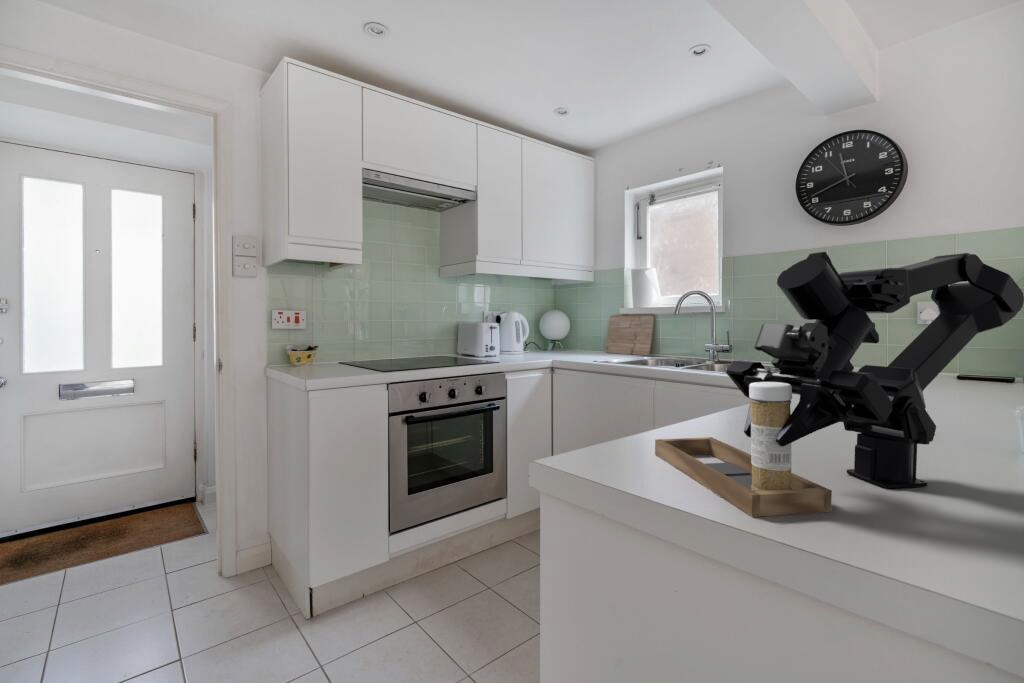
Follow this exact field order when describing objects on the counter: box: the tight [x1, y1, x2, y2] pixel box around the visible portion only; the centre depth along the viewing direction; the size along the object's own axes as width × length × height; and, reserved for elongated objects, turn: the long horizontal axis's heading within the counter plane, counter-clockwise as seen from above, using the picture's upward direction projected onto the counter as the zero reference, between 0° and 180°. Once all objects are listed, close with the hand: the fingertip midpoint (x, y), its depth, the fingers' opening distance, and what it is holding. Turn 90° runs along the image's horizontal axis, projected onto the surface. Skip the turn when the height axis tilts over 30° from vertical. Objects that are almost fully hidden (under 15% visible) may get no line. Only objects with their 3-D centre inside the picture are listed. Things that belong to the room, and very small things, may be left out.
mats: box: [705, 462, 752, 490], centre depth 66 cm, size 8×11×1 cm
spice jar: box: [749, 382, 793, 491], centre depth 58 cm, size 5×5×13 cm
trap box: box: [654, 436, 833, 518], centre depth 66 cm, size 10×25×2 cm, turn 8°
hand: (762, 439), depth 57 cm, fingers closed on spice jar, 4 cm apart
